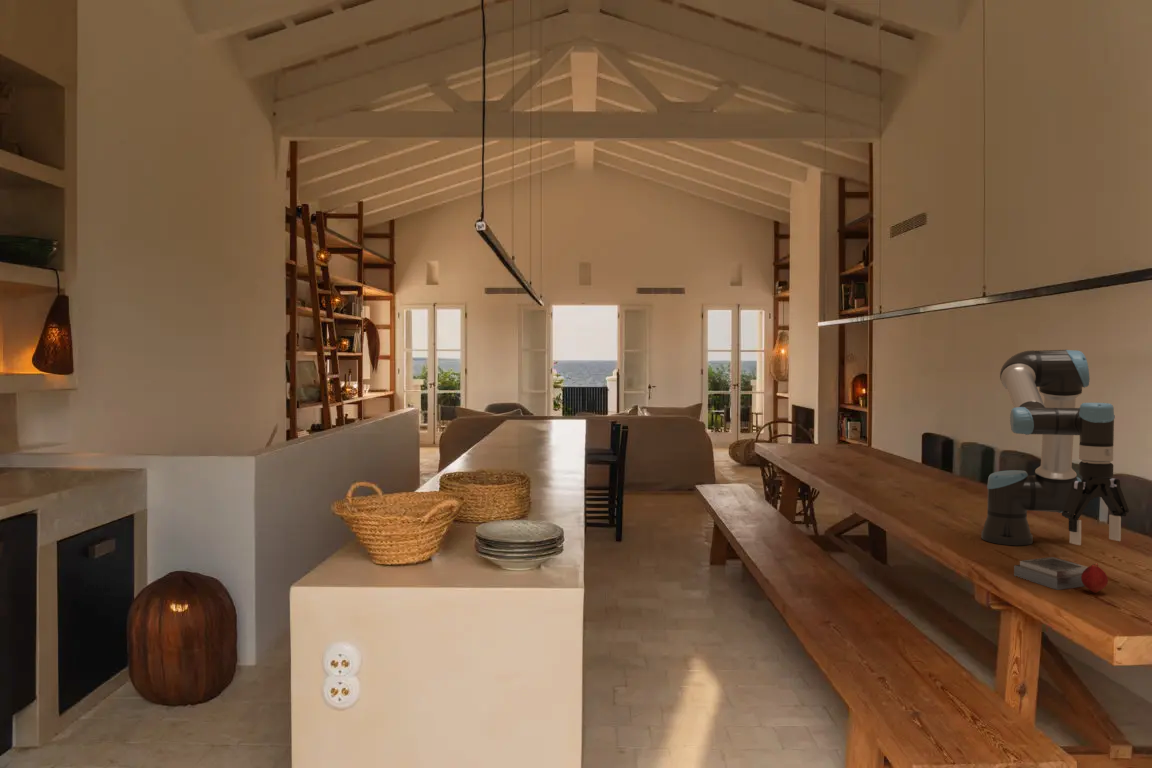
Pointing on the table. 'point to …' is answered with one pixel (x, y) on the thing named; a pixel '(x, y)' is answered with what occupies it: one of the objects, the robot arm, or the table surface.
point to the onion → (1094, 578)
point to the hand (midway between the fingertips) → (1095, 542)
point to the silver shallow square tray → (1051, 572)
